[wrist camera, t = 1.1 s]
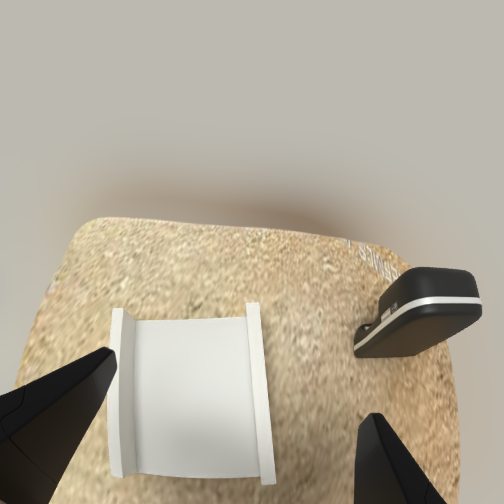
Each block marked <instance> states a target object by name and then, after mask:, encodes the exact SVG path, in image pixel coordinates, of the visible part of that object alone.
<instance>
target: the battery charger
mask: <svg viewBox="0 0 504 504" xmlns="http://www.w3.org/2000/svg"><path fill="white" fill-rule="evenodd" d="M482 306H483V305H482V301H481V299H480V297H479V293H478V289H477V285H476V281H475V278H474V276H473V275H472V274H471V273H470V272H467V271H465V270H457V269H447V268H433V267H417V268H412V269H409V270H408V271H406V272H404V273H403V274H402V275H401V276H400V277H399V278H398V279H397V280H396V281H395V282H394V283H392V285H391V286H390V287H389V288H388V289H387V290H386V291H385V292H384V293H383V294H382V296H381V297H380V299H379V316H378V318H377V320H376V321H375V322H374V323H373V324H364V325H362V326H360V327H359V328H358V330H357V332H356V335H355V346H354V351H355V356H356V357H357V358H377V357H403V356H414V355H416V354H418V353H420V352H422V351H424V350H426V349H428V348H430V347H432V346H434V345H436V344H438V343H440V342H442V341H444V340H446V339H448V338H449V337H451V336H453V335H455V334H456V333H458V332H460V331H462V330H463V329H465V328H467V327H468V326H470V325H471V324H473V323H474V322H476V321H477V320H478V319H479V318H480V317H481V316H482Z"/></svg>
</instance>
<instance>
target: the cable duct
mask: <svg viewBox="0 0 504 504" xmlns="http://www.w3.org/2000/svg"><path fill="white" fill-rule="evenodd" d="M109 348H110V349H112V350H114V351H115V354H116V360H117V371H116V373H115V376H114V378H113V380H112V382H111V385H110V387H109V389H108V392H107V422H108V445H109V459H110V470H111V476H114V477H119V478H125V477H127V476H130V475H132V474H135V473H137V472H138V473H145V474H153V475H161V476H172V477H187V478H246V477H260V478H261V485H270V484H276V475H275V464H274V454H273V443H272V433H271V422H270V412H269V401H268V391H267V380H266V370H265V360H264V349H263V339H262V329H261V318H260V308H259V302H257V303H246V316H244V317H229V318H210V319H186V320H135V319H134V318H133V317H132V316H131V315H130V314H129V313H128V312H127V311H126V310H125V309H124V308H113V313H112V322H111V332H110V344H109Z"/></svg>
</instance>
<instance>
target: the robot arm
mask: <svg viewBox="0 0 504 504" xmlns="http://www.w3.org/2000/svg"><path fill="white" fill-rule="evenodd" d="M116 371H117V360H116V354H115V351H114V350H112V349H110V348H108V347H102V348H100V349H98V350H96V351H94V352H92V353H90V354H88V355H86V356H84V357H82V358H80V359H78V360H76V361H74V362H71V363H69V364H67V365H65V366H63V367H61V368H59V369H57V370H55V371H53V372H51V373H49V374H47V375H45V376H43V377H41V378H39V379H37V380H35V381H32V382H30V383H28V384H27V385H24V386H22V387H20V388H18V389H15V390H13V391H11V392H9V393H6V394H3V395H1V396H0V504H49V502H50V500H51V498H52V496H53V494H54V492H55V490H56V488H57V486H58V483H59V481H60V479H61V477H62V476H63V474H64V472H65V470H66V468H67V466H68V464H69V462H70V460H71V459H72V457H73V455H74V453H75V451H76V449H77V447H78V446H79V444H80V442H81V440H82V438H83V437H84V435H85V433H86V431H87V430H88V428H89V426H90V424H91V422H92V421H93V419H94V417H95V416H96V414H97V412H98V410H99V409H100V407H101V405H102V403H103V401H104V398H105V396H106V394H107V392H108V389H109V387H110V385H111V382H112V380H113V378H114V376H115V373H116ZM354 504H447V503H446V502H445V501H444V499H443V498H442V497H441V496H440V494H439V493H438V492H437V490H436V489H435V488H434V486H433V485H432V483H431V482H430V481H429V479H428V478H427V476H426V475H425V474H424V472H423V471H422V469H421V468H420V467H419V465H418V464H417V462H416V461H415V460H414V458H413V457H412V455H411V454H410V452H409V451H408V450H407V448H406V447H405V445H404V444H403V443H402V441H401V440H400V438H399V437H398V436H397V434H396V433H395V431H394V430H393V429H392V427H391V426H390V425H389V423H388V422H387V420H386V419H385V418H384V416H383V415H382V414H381V413H370V414H369V415H368V416H367V417H366V418H365V419H364V421H363V422H362V423H361V424H360V426H359V429H358V438H357V448H356V457H355V477H354Z"/></svg>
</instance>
